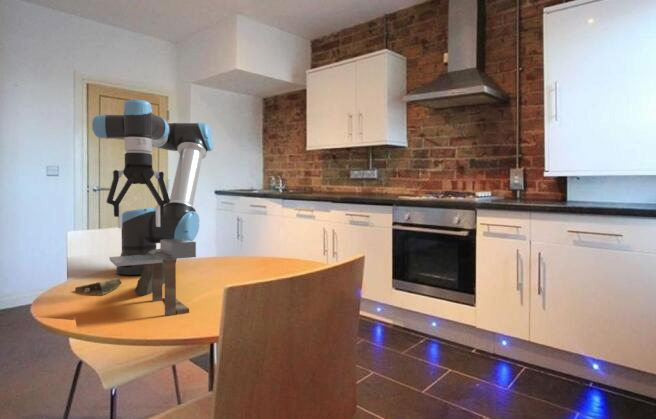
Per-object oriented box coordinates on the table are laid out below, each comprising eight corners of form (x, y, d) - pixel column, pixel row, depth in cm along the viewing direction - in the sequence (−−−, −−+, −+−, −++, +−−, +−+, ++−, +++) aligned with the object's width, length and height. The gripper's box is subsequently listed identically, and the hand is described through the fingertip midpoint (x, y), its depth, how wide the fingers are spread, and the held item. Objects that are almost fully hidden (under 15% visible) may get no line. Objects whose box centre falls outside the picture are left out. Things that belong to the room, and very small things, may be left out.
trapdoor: (109, 260, 106) (109, 241, 106) (182, 255, 117) (182, 238, 117) (116, 266, 95) (116, 246, 95) (195, 260, 106) (195, 241, 106)
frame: (152, 302, 114) (152, 253, 114) (173, 300, 117) (173, 252, 117) (165, 316, 100) (165, 260, 100) (189, 312, 104) (188, 258, 103)
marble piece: (157, 256, 114) (145, 250, 114) (137, 302, 115) (125, 296, 116) (184, 248, 131) (173, 243, 131) (167, 289, 132) (155, 283, 132)
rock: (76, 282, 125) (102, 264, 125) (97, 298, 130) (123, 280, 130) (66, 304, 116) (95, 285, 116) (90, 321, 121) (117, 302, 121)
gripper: (96, 149, 111) (98, 229, 112) (180, 154, 124) (181, 226, 124) (94, 151, 117) (95, 228, 118) (174, 156, 130) (175, 225, 131)
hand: (139, 227), depth 121 cm, fingers open, 10 cm apart
